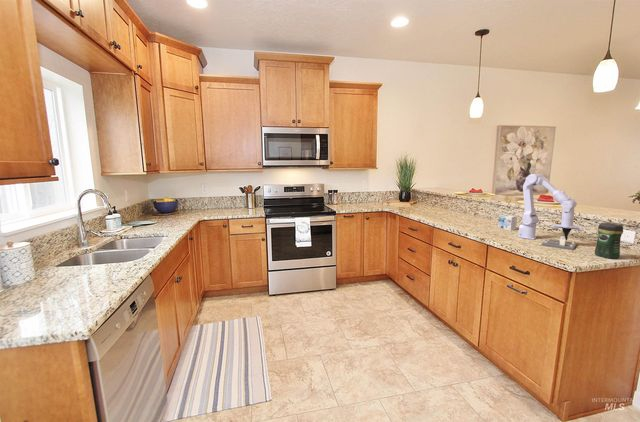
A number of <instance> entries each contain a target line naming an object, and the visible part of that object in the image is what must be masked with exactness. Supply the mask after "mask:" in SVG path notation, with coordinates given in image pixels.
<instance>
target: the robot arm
mask: <svg viewBox="0 0 640 422" xmlns="http://www.w3.org/2000/svg"><path fill="white" fill-rule="evenodd" d="M537 185H538V186H542V187H544V188H545V189H546V190H547V191H549V192H550V193H551V194H552V198H554V199H555V200H556V201H557V202H558V203H559V204H560V207H561V208H562V211H561V221H560V224H554V223H553V224H551V225H552V226H551V228H556V229H561V231H562V233H563V236H564V237H565V239H566V241H568V236H569V234H570V233H571V231H572V230H578V231H583V226H580V225H579V226H578V225H574V219H575V208H576V207H577V204H578V203H577V202H576V200H575V199H572V198H571V197H570V196H568V195H567V194H566V191H564V190H561V189H559V190H558V189H557V188H556V187H555V186H554V185H553V183H551V182H550V181H549V179H547V178H546V177H545V176H544V175H543V174H541V173H536V174H535V173H532V174H529V175H527V176H526V177H525V181H524V182H523V185H522V193H523V202H524V203H523V204H524V212H523V215H522V216H523V217H522V220H521V222H522V224H520V225H519V227H518V235H517V238H522V239H526V240H527V239H529V240H535V239H537V236H536V232H537V230H536V229H537V224H538V223H539V216H538V215H537V212H536V211H535V202H534V191H533V189H534V187H536V186H537Z"/></svg>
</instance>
